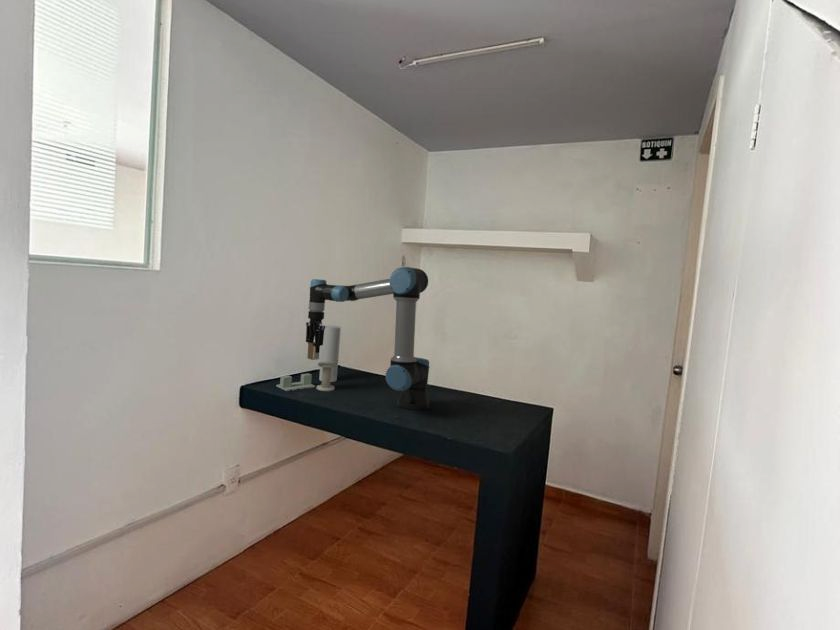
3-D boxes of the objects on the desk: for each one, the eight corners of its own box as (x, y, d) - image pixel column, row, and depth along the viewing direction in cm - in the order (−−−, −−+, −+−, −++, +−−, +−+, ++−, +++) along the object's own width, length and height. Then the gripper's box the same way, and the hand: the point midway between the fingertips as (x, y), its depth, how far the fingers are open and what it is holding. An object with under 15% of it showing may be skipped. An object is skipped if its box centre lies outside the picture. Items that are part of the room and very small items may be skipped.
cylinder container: (316, 380, 243) (320, 325, 240) (324, 376, 252) (328, 324, 249) (331, 382, 240) (335, 327, 238) (339, 379, 249) (343, 326, 247)
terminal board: (314, 387, 228) (315, 376, 228) (286, 391, 217) (287, 379, 216) (304, 382, 235) (304, 371, 235) (276, 386, 223) (277, 374, 223)
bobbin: (338, 389, 227) (340, 364, 226) (323, 392, 221) (325, 366, 220) (327, 385, 233) (329, 361, 232) (312, 387, 227) (314, 362, 226)
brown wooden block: (311, 359, 217) (312, 343, 216) (307, 358, 220) (308, 342, 219) (318, 359, 220) (319, 343, 219) (314, 357, 223) (315, 341, 222)
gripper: (333, 313, 215) (329, 360, 217) (313, 309, 226) (310, 354, 228) (319, 313, 209) (316, 362, 211) (300, 308, 221) (297, 355, 223)
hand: (313, 358), depth 220 cm, fingers closed on brown wooden block, 4 cm apart
